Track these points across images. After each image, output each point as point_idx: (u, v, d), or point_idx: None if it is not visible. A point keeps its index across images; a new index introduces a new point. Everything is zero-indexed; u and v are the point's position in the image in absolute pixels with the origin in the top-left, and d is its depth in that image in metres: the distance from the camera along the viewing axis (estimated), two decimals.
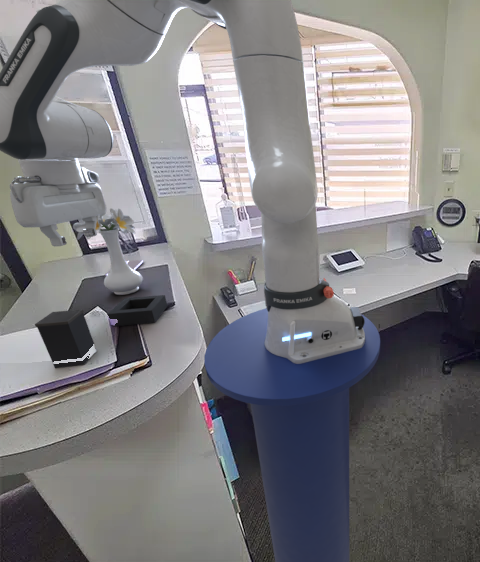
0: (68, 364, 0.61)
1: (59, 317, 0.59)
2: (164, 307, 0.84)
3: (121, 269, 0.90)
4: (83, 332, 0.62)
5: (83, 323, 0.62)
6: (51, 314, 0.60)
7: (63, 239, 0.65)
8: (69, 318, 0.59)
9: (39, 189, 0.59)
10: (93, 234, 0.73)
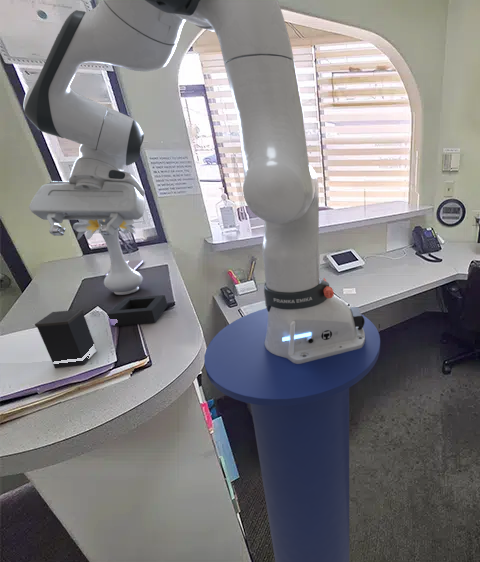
0: (68, 364, 0.61)
1: (59, 317, 0.59)
2: (164, 307, 0.84)
3: (121, 269, 0.90)
4: (83, 332, 0.62)
5: (83, 323, 0.62)
6: (51, 314, 0.60)
7: (55, 226, 0.65)
8: (69, 318, 0.59)
9: (51, 185, 0.67)
10: (104, 230, 0.66)
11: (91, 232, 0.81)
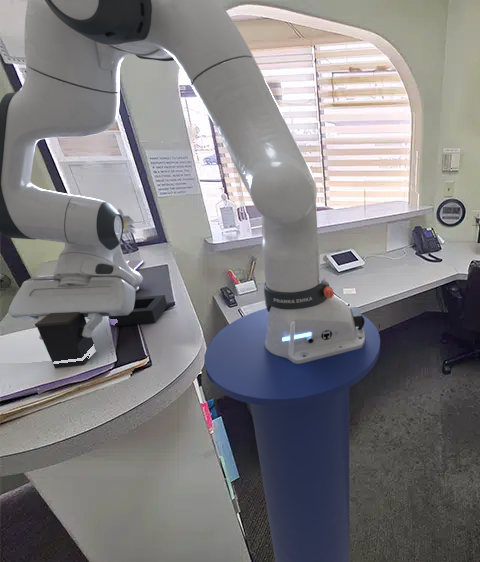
0: (68, 364, 0.61)
1: (59, 317, 0.59)
2: (164, 307, 0.84)
3: None
4: None
5: (83, 323, 0.62)
6: (51, 314, 0.60)
7: None
8: (69, 318, 0.59)
9: (33, 283, 0.62)
10: (80, 334, 0.61)
11: None
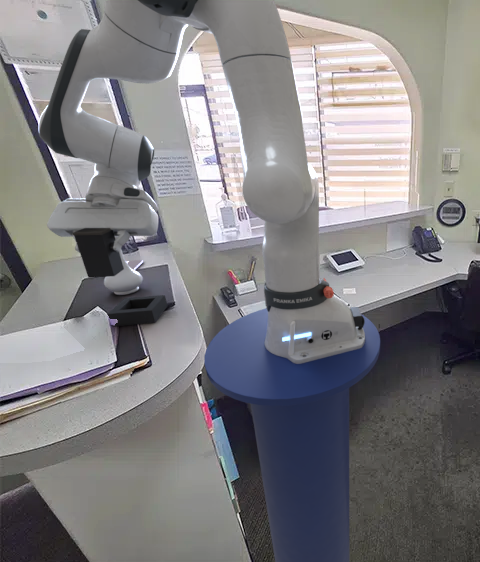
0: (100, 274, 0.68)
1: (93, 230, 0.66)
2: (164, 307, 0.84)
3: None
4: None
5: (113, 239, 0.69)
6: (85, 228, 0.67)
7: None
8: (102, 230, 0.66)
9: (68, 202, 0.69)
10: (111, 247, 0.67)
11: None
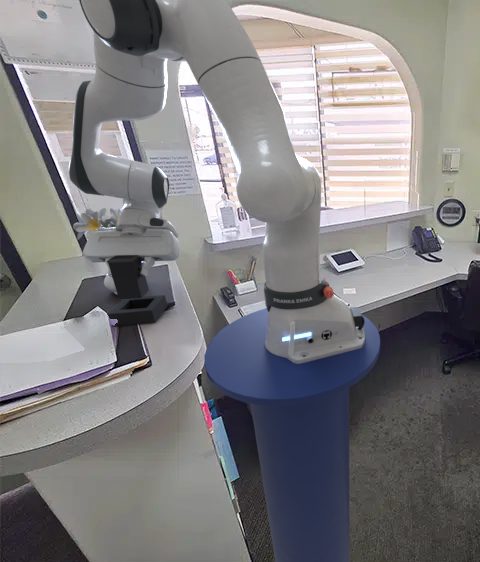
0: (129, 296, 0.76)
1: (124, 257, 0.74)
2: (164, 307, 0.84)
3: None
4: None
5: (140, 265, 0.77)
6: (116, 256, 0.75)
7: None
8: (132, 258, 0.74)
9: (100, 232, 0.77)
10: (139, 272, 0.76)
11: None
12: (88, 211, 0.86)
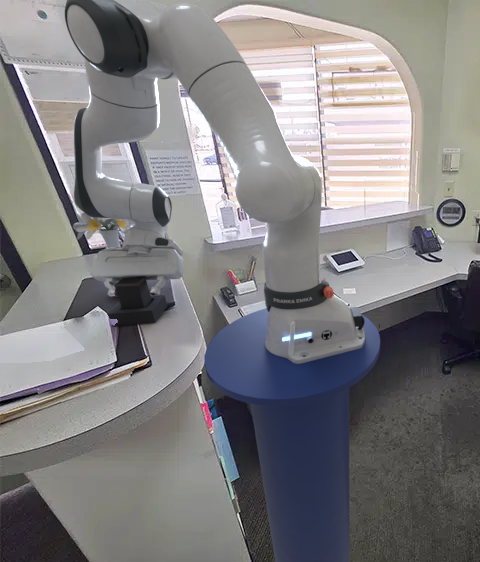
0: None
1: (130, 281, 0.76)
2: (164, 307, 0.84)
3: None
4: (146, 294, 0.79)
5: (146, 287, 0.80)
6: (123, 279, 0.77)
7: (112, 289, 0.77)
8: (138, 281, 0.76)
9: (107, 252, 0.79)
10: (152, 291, 0.78)
11: (91, 232, 0.81)
12: None
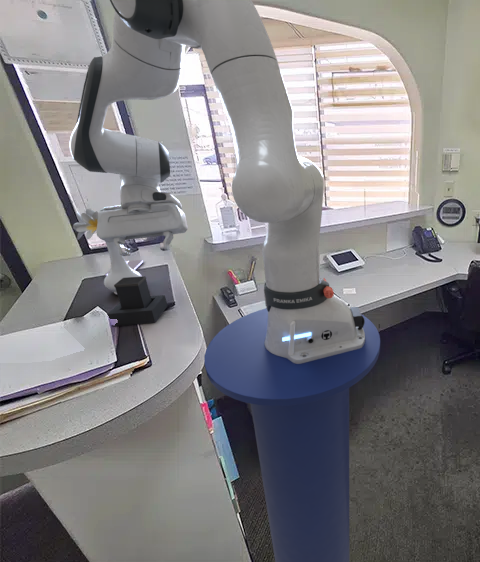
0: None
1: (130, 281, 0.76)
2: (164, 307, 0.84)
3: (121, 269, 0.90)
4: (146, 294, 0.79)
5: (146, 287, 0.80)
6: (123, 279, 0.77)
7: (123, 249, 0.78)
8: (138, 281, 0.76)
9: (107, 212, 0.79)
10: (162, 247, 0.80)
11: (91, 232, 0.81)
12: (88, 211, 0.86)
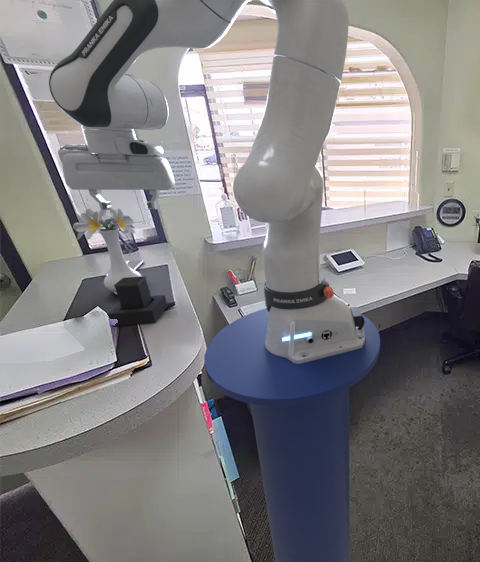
0: None
1: (130, 281, 0.76)
2: (164, 307, 0.84)
3: (121, 269, 0.90)
4: (146, 294, 0.79)
5: (146, 287, 0.80)
6: (123, 279, 0.77)
7: (103, 204, 0.70)
8: (138, 281, 0.76)
9: (72, 156, 0.65)
10: (150, 207, 0.73)
11: (91, 232, 0.81)
12: (88, 211, 0.86)
